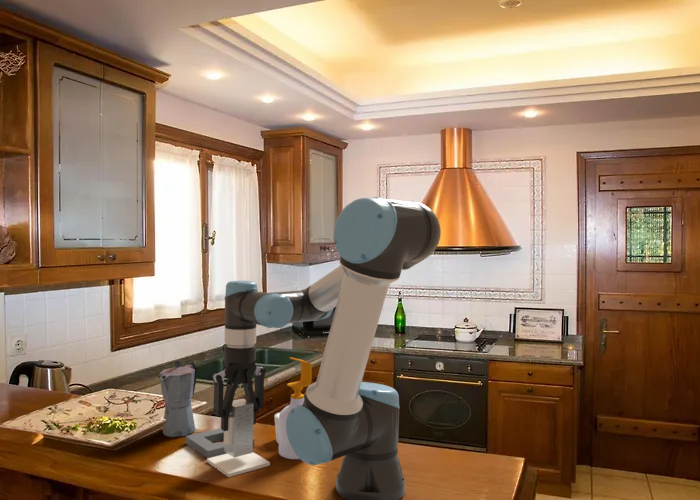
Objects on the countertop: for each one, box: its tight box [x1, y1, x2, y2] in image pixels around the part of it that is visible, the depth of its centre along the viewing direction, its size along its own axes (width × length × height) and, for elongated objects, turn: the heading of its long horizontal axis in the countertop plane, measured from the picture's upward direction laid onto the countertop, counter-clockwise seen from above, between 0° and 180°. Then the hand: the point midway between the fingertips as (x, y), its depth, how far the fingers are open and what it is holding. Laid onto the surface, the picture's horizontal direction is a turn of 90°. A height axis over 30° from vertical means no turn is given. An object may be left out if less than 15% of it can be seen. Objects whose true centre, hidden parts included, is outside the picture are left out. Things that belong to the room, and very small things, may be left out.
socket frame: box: [185, 427, 255, 460], centre depth 148 cm, size 13×13×2 cm
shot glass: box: [274, 411, 281, 444], centre depth 152 cm, size 7×7×7 cm
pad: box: [206, 451, 271, 478], centre depth 136 cm, size 11×11×1 cm
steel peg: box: [224, 398, 254, 457], centre depth 136 cm, size 5×5×12 cm
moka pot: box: [158, 360, 199, 438], centre depth 157 cm, size 10×15×20 cm, turn 163°
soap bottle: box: [278, 356, 313, 460], centre depth 143 cm, size 9×9×25 cm
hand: (238, 440), depth 136 cm, fingers closed on steel peg, 5 cm apart
